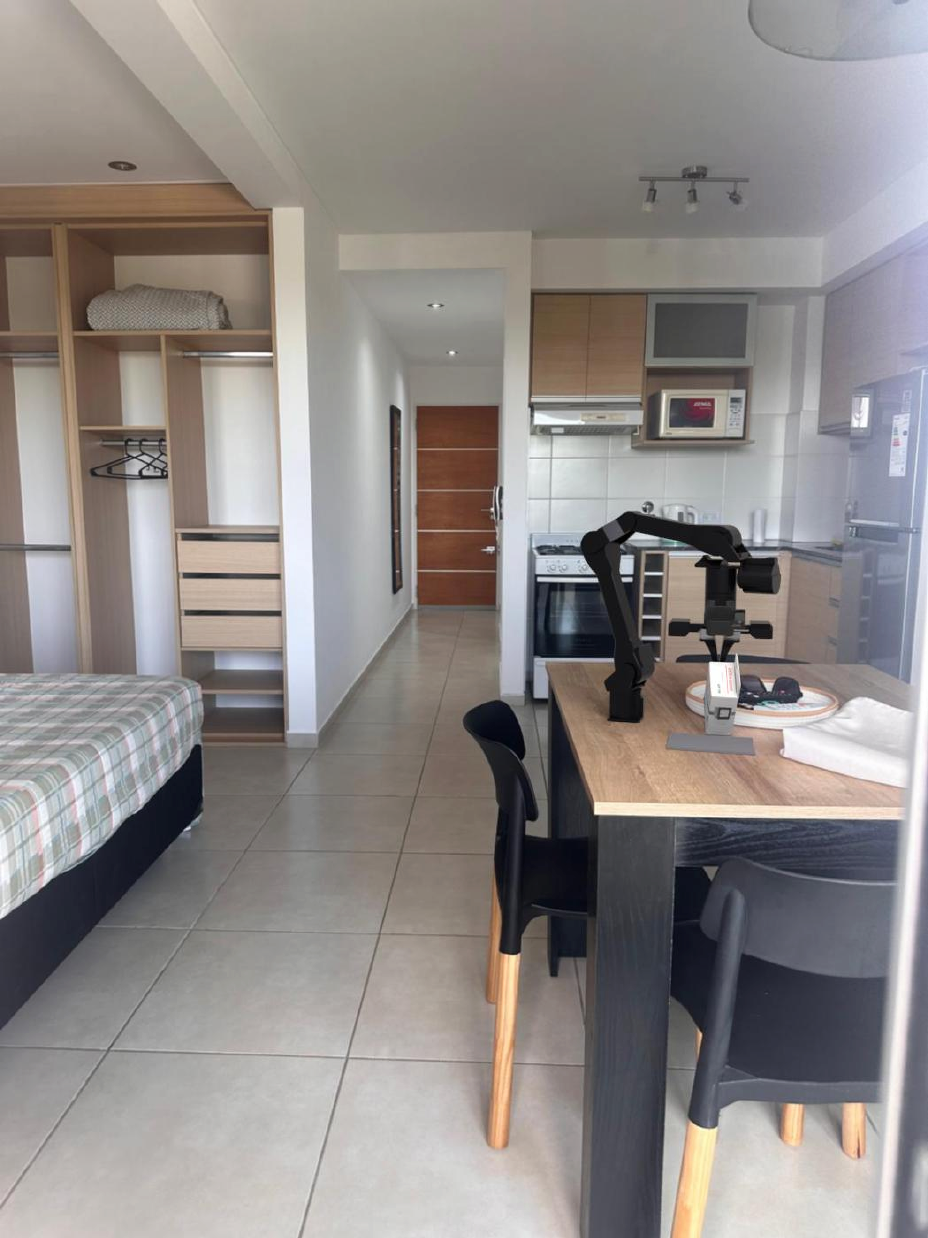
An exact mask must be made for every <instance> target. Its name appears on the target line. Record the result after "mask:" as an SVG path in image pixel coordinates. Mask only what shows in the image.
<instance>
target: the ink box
mask: <svg viewBox="0 0 928 1238" xmlns="http://www.w3.org/2000/svg"><path fill="white" fill-rule="evenodd" d="M739 666H740V665H739V656H738V653H737V652H736V653H735V657H734V662H726V661H725V662H719V661H718V662H713V661H709V662H708V669H707V674H706V682H705V689H704V695H703V696H704V697H703V712H704V725H705V735H718V736H731V735H732V733H733V729H734V724H735V723H734V722H735V718H736V713H737V709H738V702H739V698H740V697H739V696H740V690H741V677H740V668H739Z"/></svg>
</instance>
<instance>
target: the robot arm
mask: <svg viewBox="0 0 928 1238" xmlns="http://www.w3.org/2000/svg"><path fill="white" fill-rule="evenodd" d="M636 533H639V534H643V535H647V536H650V537H651V536H652V537H656V538H660V539H665V540H669V541H675V542H678V543H684V544H686V545H688V546H690V547H692V548H694V549H696V550H697V551H699V552H703V553H705V554H703V555H702V556H701V558H700V559H698V560H697V561H696V562H695V563H694V565H693V566H694V568H699V569H700V568H702V569H703V568H705V575H704V576H705V579H704V580H705V581H704V583H705V584H704V609H703V610H704V612H703V622H691V618H678V617H677V618H675V617H673V618H672V619H670V620H669V622H668V627H667V629H668V631H667V635H668V636H669V637H678V638H679V637H680V638H681V637H682V638H685V637H686V636H688V635H689V634H690V633H695V634H697V633H698V635H699V638H698V640H699V642H704V643H705V646H706V647H707V650H708V651H709V654H710V656H711V657H710V658H711V660H712V661H711V662H726V660H727V657H728V654H729V652H730V651H731V649H732V647H733V646H734V644H735V643H736V644H738V643H740V642H741V635H750V636H751V637H753V638H754V639H755V640H773V639H774V626H773V624H772V623H771V621H769V620H755V619H754V620H751V619H750V620H749V623H748V624H746V609H737V597H738V596H737V591H738V590H737V589H738V588H739V589H741V590H742V592H743V593H744V594H758V595H777V594H778V593H779V591H780V590H781V589H780V588H781V583H782V582H781V581H782V574H781V570H780V565H779V563H778V562H779V558H778V556H768V557H753V555H752V554H751V552H750V551H749V550H748V549H747V547H746V545H745V544H744V543H743V538H742V534H741V532H740V530H739V528H738V527H736V526H735V525H731V524H708V523H707V524H705V523H704V524H703V523H702V524H701V523H699V524H698V523H691V522H685V521H681V520H677V519H672V518H667V517H662V516H657V515H651V514H646V513H643V512H641V511H639V510H631V511H630V510H626V511H624V512H623V513H622V514H620V515H619V516H618V517H616V518H615V519H613V520H611V521H610V522H608V523H606V524H604V525H603V526H600V527H599V528H598V529H596V530H592V531H591V530H590V531H588V532H586V533H585V534H584V535H583V536H582V538H581V540H580V541H579V542H580V543H579V548H580V552H581V553H582V555H583V558H584V560H585V562H586V564H587V566H588V567H589V568H590V569H591V571H592V572H593V573H594V575H595V576H596V578H597V581H598V585H599V588H600V591H601V592H600V593H601V596H602V599H603V603H604V607H605V610H606V613H607V616H608V620H609V624H610V628H611V631H612V634H613V639H614V643H615V645H614V646H615V647H614V653H613V664H614V670H615V671H613V672H612V673H611V674H610V675H609V676H608V677H607V678H606V679H604V681H603V684H604V687H605V690H606V692H609V698H608V699H609V700H608V702H609V703H608V706H609V708H608V717H607V721H612V722H614V721H615V722H629V723H641V721H642V719H643V718H644V716H645V698H646V697H645V695H643V692H642V691H643V688H642V687H645V686H646V683H647V681H648V680H649V679H650V678H651V677H652V676H653V675H654V672H655V669H656V666H655V663H656V662H657V659H656V657H655V656H654V653H653V652H654V651H653V647H652V643H651V642H649V643H645V644H644V642H643V641H642V639H641V638H640V637H639V635H638V632H637V627H636V625H635V622H634V617H633V614H632V610H631V606H630V603H629V600H628V597H627V593H626V589H625V585H624V582H623V578H622V575H621V571H620V570H621V569H620V568H621V567H620V566H621V559H622V558H621V557H622V551H621V546H622V545H623V544H625V543H626V542H627V541H629V539H631V538H632V537H633V535H635V534H636ZM712 557H718V558H712ZM719 557H720V558H719ZM729 563H730V564H729ZM731 563H735V564H731ZM716 636H723V637H722V642H721V646H720V647H721V648H720V653H719V658H718V648H717V637H716Z"/></svg>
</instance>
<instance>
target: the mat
mask: <svg viewBox="0 0 928 1238" xmlns="http://www.w3.org/2000/svg"><path fill="white" fill-rule="evenodd" d="M668 735H669V736H668V740H667V743H666V750H677V751H689V752H702V753H703V752H704V753H705V752H706V753H714V754H715V753H716V754H719V753H720V754H728V755H729V754H731V755H732V754H733V755H746V756H755V755H756V751H755V743H754V738H753V737H745V736H744V737H743V736H734V735H733V736H731V735H717V734H701V733H700V734H699V733H687V732H685V733H684V732H672V731H670V732H669V734H668Z"/></svg>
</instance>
